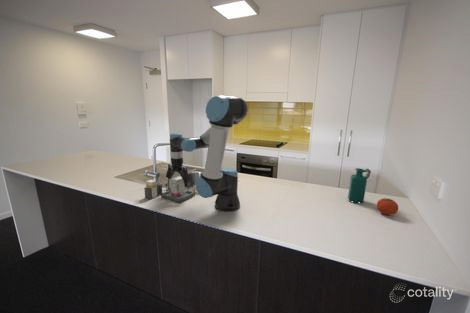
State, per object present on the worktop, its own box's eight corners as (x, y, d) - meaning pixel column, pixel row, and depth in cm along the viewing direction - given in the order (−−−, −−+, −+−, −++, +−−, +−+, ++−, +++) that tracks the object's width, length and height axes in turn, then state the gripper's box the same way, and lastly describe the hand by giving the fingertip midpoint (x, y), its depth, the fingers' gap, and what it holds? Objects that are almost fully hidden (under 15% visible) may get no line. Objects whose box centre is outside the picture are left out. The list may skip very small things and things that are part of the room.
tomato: (371, 209, 130) (374, 194, 128) (388, 210, 130) (391, 194, 128) (382, 218, 120) (385, 201, 118) (401, 218, 120) (404, 201, 118)
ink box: (176, 198, 139) (175, 180, 136) (170, 196, 141) (170, 179, 139) (185, 193, 146) (185, 177, 144) (180, 192, 149) (179, 175, 146)
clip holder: (174, 189, 156) (173, 174, 154) (150, 199, 138) (149, 183, 136) (169, 188, 159) (168, 173, 156) (145, 198, 141) (143, 181, 138)
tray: (195, 195, 146) (195, 192, 145) (180, 203, 134) (180, 199, 133) (176, 190, 154) (176, 187, 153) (161, 197, 142) (160, 193, 141)
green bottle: (349, 202, 140) (353, 169, 136) (347, 197, 148) (351, 166, 143) (366, 204, 137) (371, 171, 132) (363, 199, 145) (368, 168, 140)
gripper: (195, 158, 136) (196, 191, 141) (167, 154, 147) (169, 184, 152) (187, 161, 129) (188, 195, 134) (159, 156, 141) (160, 188, 145)
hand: (178, 189), depth 143 cm, fingers open, 11 cm apart
